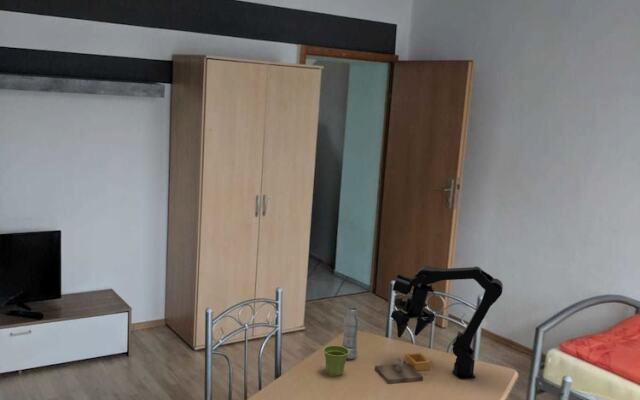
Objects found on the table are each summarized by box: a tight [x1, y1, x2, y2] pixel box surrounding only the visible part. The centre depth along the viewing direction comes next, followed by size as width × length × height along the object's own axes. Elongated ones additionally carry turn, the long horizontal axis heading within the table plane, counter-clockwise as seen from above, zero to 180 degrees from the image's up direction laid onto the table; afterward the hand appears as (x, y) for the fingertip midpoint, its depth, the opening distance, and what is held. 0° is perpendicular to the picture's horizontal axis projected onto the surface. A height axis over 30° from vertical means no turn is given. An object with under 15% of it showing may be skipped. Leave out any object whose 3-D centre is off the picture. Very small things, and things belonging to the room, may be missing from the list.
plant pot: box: [323, 345, 349, 377], centre depth 242 cm, size 9×9×9 cm
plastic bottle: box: [341, 306, 361, 360], centre depth 255 cm, size 6×7×20 cm
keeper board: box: [374, 356, 424, 385], centre depth 244 cm, size 14×12×7 cm
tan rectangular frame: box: [403, 352, 432, 372], centre depth 254 cm, size 7×9×3 cm
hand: (407, 336), depth 252 cm, fingers open, 9 cm apart
